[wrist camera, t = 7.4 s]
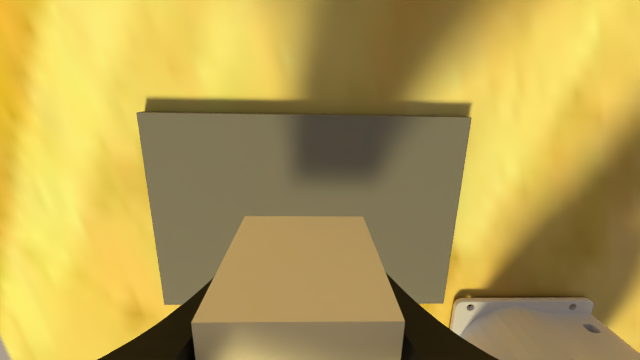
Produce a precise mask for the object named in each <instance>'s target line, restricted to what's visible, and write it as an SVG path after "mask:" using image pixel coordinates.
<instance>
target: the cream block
mask: <svg viewBox="0 0 640 360" xmlns="http://www.w3.org/2000/svg"><path fill="white" fill-rule="evenodd" d="M191 325H192V334H193V342H194V351H195V359H196V360H401V353H402V344H403V335H404V327H405V320H404V317H403V315H402V312H401V310H400V307H399V305H398V302H397V300H396V297H395V295H394V292H393V290H392V287H391V285H390V283H389V280H388V278H387V275H386V273H385V270H384V268H383V265H382V263H381V260H380V258H379V255H378V253H377V250H376V248H375V245H374V243H373V240H372V238H371V235H370V233H369V230H368V228H367V225H366V223H365V220H364V218H363V217H357V216H245V217H244V219H243V221H242V223H241V225H240V227H239V229H238V231H237V233H236V235H235V237H234V239H233V241H232V243H231V245H230V247H229V249H228V251H227V252H226V254H225V256H224V258H223V260H222V262H221V264H220V266H219V268H218V270H217V272H216V274H215V276H214V278H213V280H212V282H211V284H210V286H209V288H208V290H207V292H206V294H205V296H204V298H203V300H202V302H201V304H200V306H199V308H198V310H197V312H196V314H195V316H194V318H193V320H192V322H191Z"/></svg>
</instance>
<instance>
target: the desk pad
mask: <svg viewBox="0 0 640 360" xmlns="http://www.w3.org/2000/svg"><path fill="white" fill-rule="evenodd" d="M137 120H138V126H139V133H140V140H141V147H142V154H143V161H144V168H145V174H146V181H147V188H148V195H149V202H150V209H151V216H152V222H153V229H154V236H155V243H156V250H157V257H158V263H159V270H160V277H161V284H162V291H163V298H164V305H183V304H184V303H185V302H186V301H188V300H189V299H190V298H191V297H192V296H193V295H195V294H196V293H197V292H198V291H199V290H200V289H201V288H203V287H204V286H205V285H206V284H207V283H208V282H209V281H210V280H211V279H212V278H214V276H215V274H216V272H217V270H218V268H219V266H220V264H221V262H222V260H223V258H224V256H225V254H226V252H227V251H228V249H229V247H230V245H231V243H232V241H233V239H234V237H235V235H236V233H237V231H238V229H239V227H240V225H241V223H242V221H243V219H244V217H245V216H357V217H363V218H364V220H365V223H366V225H367V228H368V230H369V233H370V235H371V238H372V240H373V243H374V245H375V248H376V250H377V253H378V255H379V258H380V260H381V263H382V265H383V268H384V270H385V272H386V273H387V274H388V275H389V276H390V277H391V278H392V279H393V280H394V281H395V282H396V283H397V284H398V285H399V286H400V287H401V288H402V289H403V290H404V291H405V292H406V293H407V294H408V295H409V296H410V297H411V298H412V299H413V300H414V301H415V302H417V303H418V304H420V303H443V302H444V295H445V289H446V282H447V276H448V269H449V262H450V256H451V249H452V243H453V236H454V229H455V223H456V216H457V210H458V203H459V196H460V190H461V183H462V177H463V170H464V163H465V157H466V150H467V144H468V137H469V130H470V124H471V117H466V116H411V115H344V114H277V113H210V112H138V113H137Z"/></svg>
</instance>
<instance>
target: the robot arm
mask: <svg viewBox="0 0 640 360" xmlns="http://www.w3.org/2000/svg"><path fill="white" fill-rule="evenodd" d="M385 273H386V272H385ZM386 275H387V278H388V280H389V283H390V285H391V287H392V290H393V292H394V295H395V297H396V300H397V302H398V305H399V307H400V310H401V312H402V315H403V317H404V320H405V327H404V335H403V344H402V353H401V360H640V353H638V352H637V351H636V350H635V349H633V348H632V347H631V346H630V345H629V344H627V343H626V342H625V341H624V340H622V339H621V338H620V337H619V336H617V335H616V334H615V333H614V332H613V331H611V330H610V329H609V328H608V327H606V326H605V325H604V324H603V323H602V322H600V321H599V320H598V319H597V318H595V317H594V316H593V315H592V310H593V307H594V303H593V302H592V301H591V300H589V299H588V298H585V297H576V298H459V299H457V300H456V301H455V302H454V305H453V311H452V317H451V323H450V329H449V328H447V327H446V326H445V325H443V324H442V323H441V322H439V321H438V320H437V319H435V318H434V317H433V316H432V315H431V314H429V313H428V312H427V311H426V310H425V309H423V308H422V307H421V306H420V305H419V304H418V303H417V302H415V301H414V300H413V299H412V298H411V297H410V296H409V295H408V294H407V293H406V292H405V291H404V290H403V289H402V288H401V287H400V286H399V285H398V284H397V283H396V282H395V281H394V280H393V279H392V278H391V277H390V276H389V275H388V274H387V273H386ZM212 280H213V278H212V279H211V280H210V281H209V282H208V283H207V284H206V285H205V286H204V287H203V288H201V289H200V290H199V291H198V292H197V293H196V294H195V295H193V296H192V297H191V298H190V299H189V300H188V301H186V302H185V303H184V304H183V305H181V306H180V307H179V308H177V309H176V310H175V311H174V312H172V313H171V314H170V315H169V316H167V317H166V318H165V319H163V320H162V321H161V322H159V323H158V324H156V325H155V326H153V327H152V328H150V329H149V330H147V331H146V332H144V333H143V334H141V335H140V336H138V337H137V338H135V339H133V340H132V341H130V342H128V343H126V344H125V345H123V346H121V347H119V348H118V349H116V350H114V351H112V352H111V353H109V354H107V355H106V356H104V357H102V358H100V359H98V360H196V359H195V351H194V342H193V334H192V325H191V322H192V320H193V318H194V316H195V314H196V312H197V310H198V308H199V306H200V304H201V302H202V300H203V298H204V296H205V294H206V292H207V290H208V288H209V286H210V284H211V282H212ZM470 304H471V306H469V307H467V306H468V305H470Z"/></svg>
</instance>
